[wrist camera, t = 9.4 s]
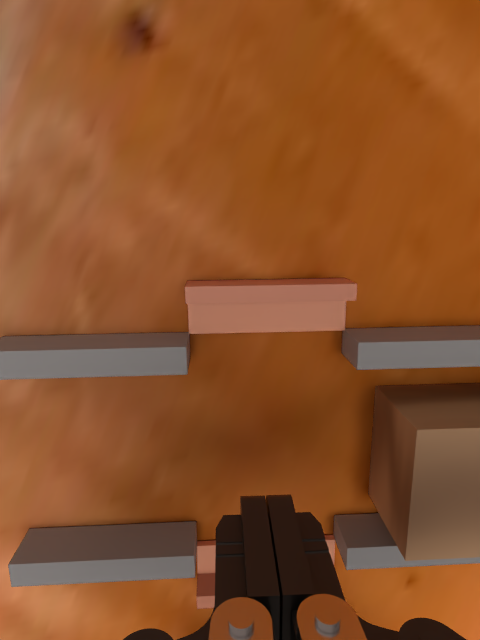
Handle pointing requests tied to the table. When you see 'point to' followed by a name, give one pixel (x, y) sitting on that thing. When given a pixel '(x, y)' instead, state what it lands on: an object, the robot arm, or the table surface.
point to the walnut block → (428, 468)
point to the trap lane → (173, 359)
